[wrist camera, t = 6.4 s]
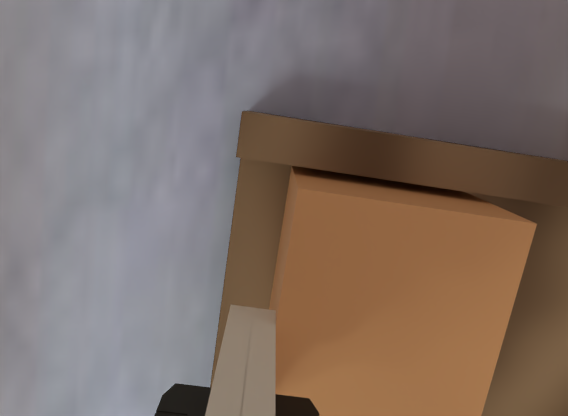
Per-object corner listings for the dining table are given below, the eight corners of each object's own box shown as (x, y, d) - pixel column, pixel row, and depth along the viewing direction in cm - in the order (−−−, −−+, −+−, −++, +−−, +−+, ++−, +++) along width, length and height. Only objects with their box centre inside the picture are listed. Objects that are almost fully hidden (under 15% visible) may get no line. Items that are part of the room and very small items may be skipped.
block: (252, 416, 20) (244, 517, 15) (291, 165, 17) (298, 188, 12) (403, 434, 20) (445, 539, 15) (464, 191, 18) (537, 223, 13)
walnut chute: (205, 428, 21) (192, 490, 18) (248, 110, 18) (241, 111, 14) (640, 479, 22) (707, 547, 19) (755, 190, 19) (861, 208, 15)
